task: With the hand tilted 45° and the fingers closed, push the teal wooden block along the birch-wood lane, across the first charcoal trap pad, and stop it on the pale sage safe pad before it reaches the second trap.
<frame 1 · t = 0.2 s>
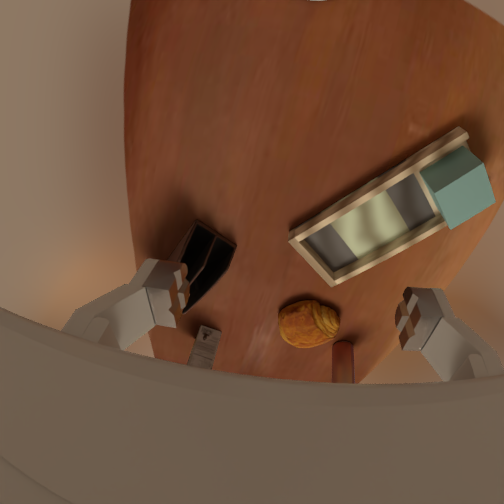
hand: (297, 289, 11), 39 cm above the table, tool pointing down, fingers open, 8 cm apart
teal block: (449, 176, 42), point 1 cm above the table, touching trap lane
croissant: (307, 315, 72), on the table
trap lane: (369, 222, 52), on the table
letter holder: (194, 258, 65), on the table
beverage can: (342, 345, 77), on the table
coffee box: (208, 335, 84), on the table
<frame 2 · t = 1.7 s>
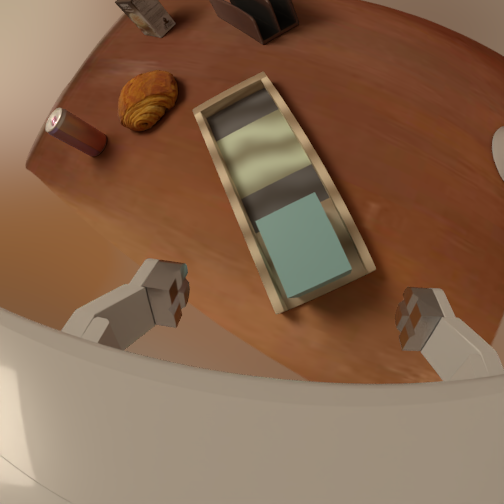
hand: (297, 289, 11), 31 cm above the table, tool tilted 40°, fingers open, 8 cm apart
teal block: (309, 252, 41), point 1 cm above the table, touching trap lane
croissant: (153, 103, 56), on the table
trap lane: (261, 152, 46), on the table
letter holder: (256, 20, 52), on the table
beverage can: (99, 146, 60), on the table
coffee box: (160, 29, 62), on the table
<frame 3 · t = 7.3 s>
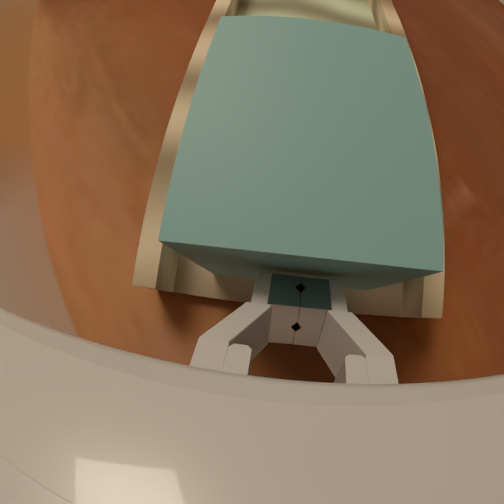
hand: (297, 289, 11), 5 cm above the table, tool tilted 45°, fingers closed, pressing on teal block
teal block: (300, 189, 16), point 1 cm above the table, touching gripper, trap lane
trap lane: (307, 16, 19), on the table
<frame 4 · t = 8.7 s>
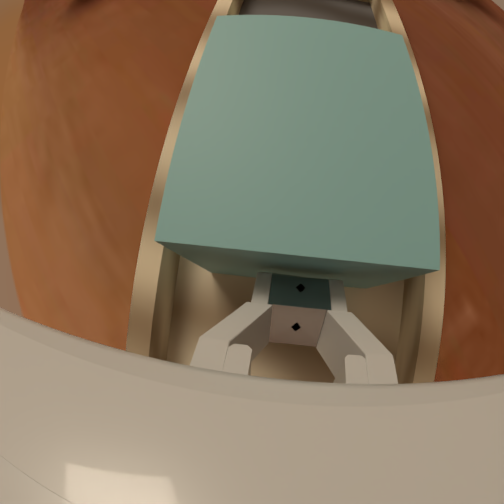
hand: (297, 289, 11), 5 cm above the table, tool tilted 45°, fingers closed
teal block: (297, 187, 16), point 1 cm above the table
trap lane: (308, 70, 18), on the table
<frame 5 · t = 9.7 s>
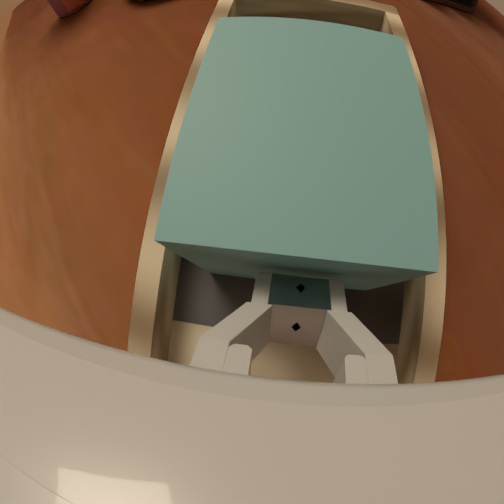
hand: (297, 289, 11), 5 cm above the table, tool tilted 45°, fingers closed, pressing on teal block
teal block: (298, 189, 16), point 1 cm above the table, touching gripper
trap lane: (306, 131, 17), on the table
beverage can: (77, 7, 25), on the table
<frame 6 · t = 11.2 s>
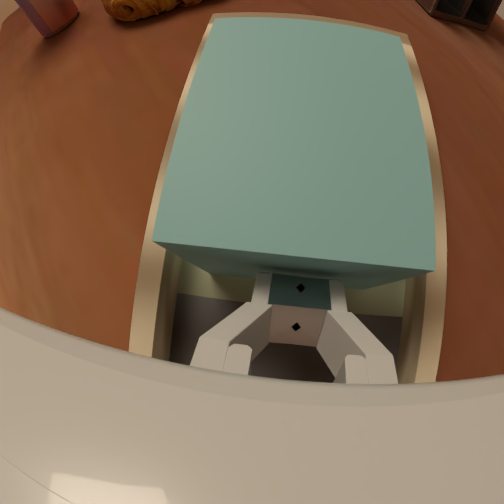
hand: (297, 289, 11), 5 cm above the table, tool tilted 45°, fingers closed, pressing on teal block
teal block: (295, 189, 16), point 1 cm above the table, touching gripper, trap lane
trap lane: (302, 198, 16), on the table
beverage can: (62, 25, 24), on the table
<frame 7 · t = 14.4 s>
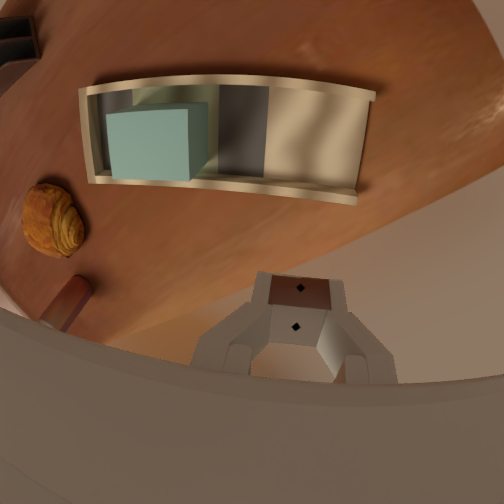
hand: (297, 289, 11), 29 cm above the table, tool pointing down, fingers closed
teal block: (171, 132, 36), point 1 cm above the table, touching trap lane
croissant: (58, 213, 47), on the table
trap lane: (175, 128, 36), on the table
letter holder: (7, 65, 30), on the table
beverage can: (82, 285, 56), on the table
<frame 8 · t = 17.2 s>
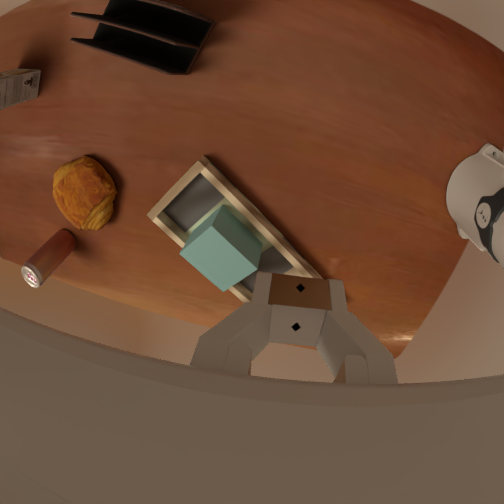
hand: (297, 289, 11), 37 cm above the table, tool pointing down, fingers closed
teal block: (227, 236, 53), point 1 cm above the table, touching trap lane
croissant: (91, 188, 52), on the table
trap lane: (231, 235, 54), on the table
letter holder: (150, 29, 35), on the table
beverage can: (67, 238, 61), on the table
coffee box: (27, 82, 40), on the table
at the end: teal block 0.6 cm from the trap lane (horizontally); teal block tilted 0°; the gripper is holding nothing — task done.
